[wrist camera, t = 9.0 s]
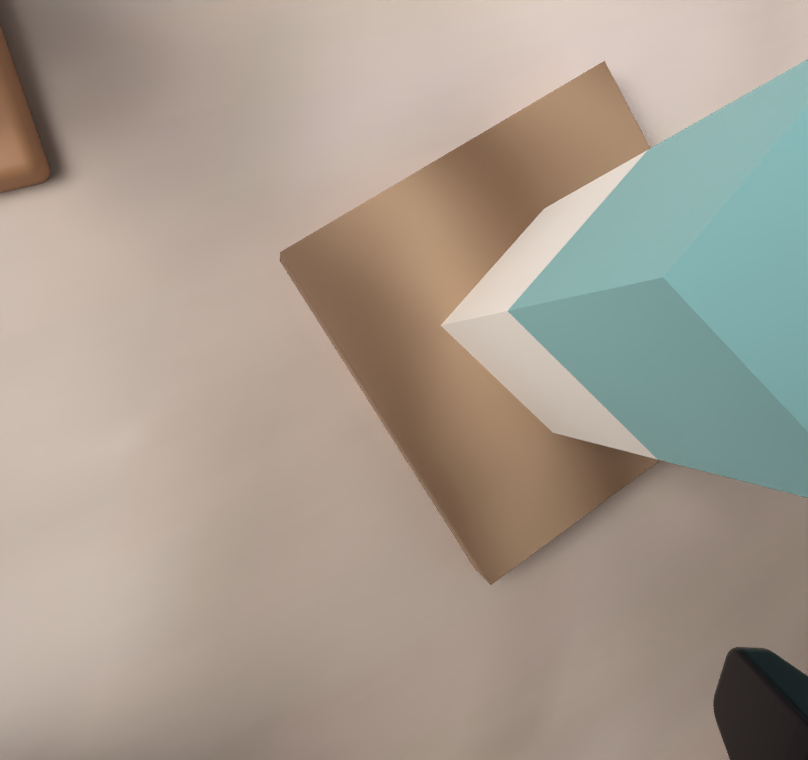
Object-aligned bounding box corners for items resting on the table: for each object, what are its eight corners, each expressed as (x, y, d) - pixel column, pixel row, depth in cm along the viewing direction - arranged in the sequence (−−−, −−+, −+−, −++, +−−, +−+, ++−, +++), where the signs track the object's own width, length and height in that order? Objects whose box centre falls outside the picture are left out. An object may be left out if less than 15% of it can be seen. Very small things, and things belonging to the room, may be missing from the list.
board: (475, 569, 21) (490, 584, 19) (279, 260, 19) (280, 252, 18) (739, 377, 23) (771, 378, 21) (581, 81, 21) (604, 61, 20)
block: (552, 432, 20) (888, 518, 9) (440, 325, 19) (663, 277, 8) (648, 317, 20) (1073, 268, 10) (544, 208, 19) (880, 18, 9)
